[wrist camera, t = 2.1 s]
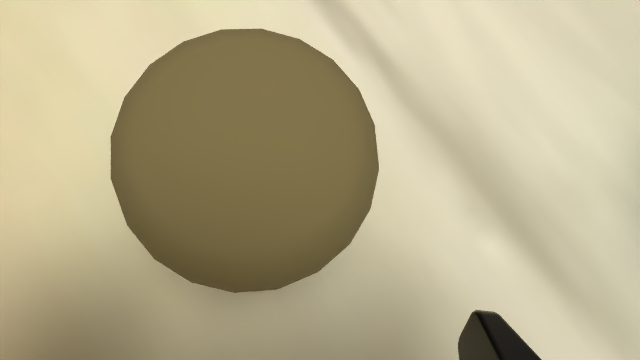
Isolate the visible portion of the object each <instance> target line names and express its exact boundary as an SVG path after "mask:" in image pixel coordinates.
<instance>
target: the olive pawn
mask: <svg viewBox="0 0 640 360" xmlns="http://www.w3.org/2000/svg"><path fill="white" fill-rule="evenodd" d="M378 171H379V163H378V154H377V144H376V135H375V125H374V123H373V120H372V118H371V116H370V113H369V111H368V109H367V107H366V104H365V102H364V100H363V98H362V95H361V93H360V91H359V89H358V88H357V87H356V85H355V84H354V83H353V82H352V81H351V80H350V79H349V77H348V76H347V75H346V74H345V73H344V72H343V71H342V69H341V68H340V67H339V66H338V65H337V64H336V63H335V62H334V60H332V59H331V58H329V57H328V56H326V55H324V54H323V53H321V52H320V51H318V50H316V49H315V48H313V47H311V46H310V45H308V44H307V43H305V42H303V41H302V40H300V39H297V38H293V37H290V36H286V35H282V34H279V33H275V32H271V31H268V30H264V29H228V30H219V31H216V32H213V33H209V34H206V35H203V36H200V37H197V38H194V39H191V40H187V41H184V42H182V43H181V44H179V45H178V46H176V47H175V48H174V49H172V50H171V51H169V52H168V53H166V54H165V55H163V56H162V57H161V58H159V59H158V60H156V61H155V62H153V63H152V64H150V65H149V66H148V68H147V69H146V70H145V72H144V73H143V74H142V76H141V77H140V78H139V79H138V81H137V82H136V83H135V85H134V86H133V87H132V88H131V90H130V91H129V92H128V94H127V95H126V96H125V98H124V100H123V103H122V106H121V109H120V112H119V115H118V118H117V121H116V123H115V126H114V129H113V132H112V135H111V180H112V183H113V186H114V189H115V192H116V194H117V197H118V200H119V203H120V206H121V209H122V212H123V214H124V217H125V220H126V223H127V226H128V227H129V228H130V229H131V230H132V232H133V233H134V234H135V235H136V237H137V238H138V239H139V240H140V242H141V243H142V244H143V245H144V247H145V248H146V249H147V250H148V252H149V253H150V254H151V255H152V257H153V258H154V259H155V260H157V261H158V262H160V263H162V264H163V265H165V266H166V267H168V268H170V269H171V270H173V271H174V272H176V273H178V274H179V275H181V276H182V277H184V278H185V279H187V280H189V281H190V282H192V283H197V284H201V285H205V286H209V287H213V288H217V289H222V290H226V291H230V292H234V293H235V292H247V291H263V290H275V289H279V288H281V287H284V286H286V285H288V284H291V283H293V282H295V281H298V280H300V279H302V278H305V277H307V276H309V275H312V274H314V273H317V272H318V271H320V270H321V269H322V268H323V267H324V266H325V265H326V264H328V263H329V262H330V261H331V260H332V259H333V258H334V257H336V256H337V255H338V254H339V253H340V252H341V251H342V250H344V249H345V248H346V247H347V246H348V245H349V244H350V243H351V241H352V239H353V238H354V236H355V234H356V232H357V231H358V229H359V227H360V226H361V224H362V222H363V221H364V219H365V217H366V215H367V214H368V212H369V210H370V208H371V204H372V199H373V194H374V190H375V185H376V180H377V176H378Z"/></svg>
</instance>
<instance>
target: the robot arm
mask: <svg viewBox="0 0 640 360" xmlns="http://www.w3.org/2000/svg"><path fill="white" fill-rule="evenodd" d="M458 353H459V360H541V359H540V358H539V356H538V355H537V354H536V353H535V352H534V351H533V350H532V349H531V348H530V347H529V346H528V345H527V344H526V343H525V342H524V340H523V339H522V338H521V337H520V336H519V335H518V334H517V333H516V332H515V331H514V330H513V329H512V328H511V327H510V326H509V325H508V323H507V322H506V321H505V320H504V319H503V318H502V317H501V316H500V315H499V314H497V313H495V312H492V311H482V310H475V311H474V312H472V314H471V315H470V317H469V319H468V321H467V323H466V325H465V327H464V329H463V331H462V333H461V335H460V337H459V341H458Z"/></svg>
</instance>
